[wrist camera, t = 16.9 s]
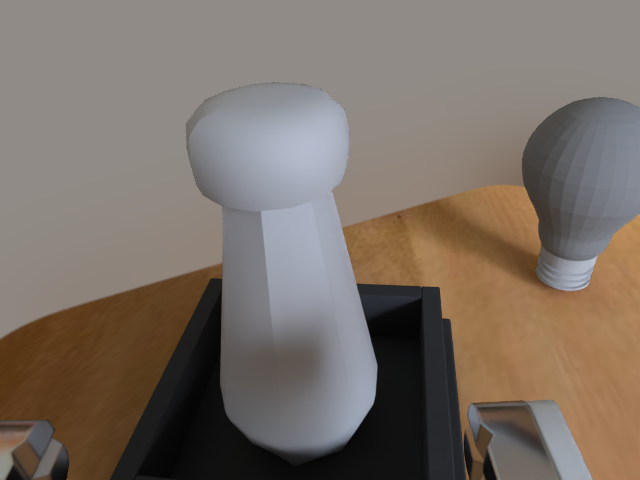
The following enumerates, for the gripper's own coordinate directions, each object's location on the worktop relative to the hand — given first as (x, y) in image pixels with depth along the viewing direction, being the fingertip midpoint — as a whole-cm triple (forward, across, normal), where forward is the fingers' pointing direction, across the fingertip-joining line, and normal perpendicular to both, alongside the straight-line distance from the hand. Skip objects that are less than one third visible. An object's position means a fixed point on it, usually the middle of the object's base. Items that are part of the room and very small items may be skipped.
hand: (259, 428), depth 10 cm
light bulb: (+15, -14, +10) cm, 23 cm away
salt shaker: (+7, 0, +9) cm, 11 cm away
